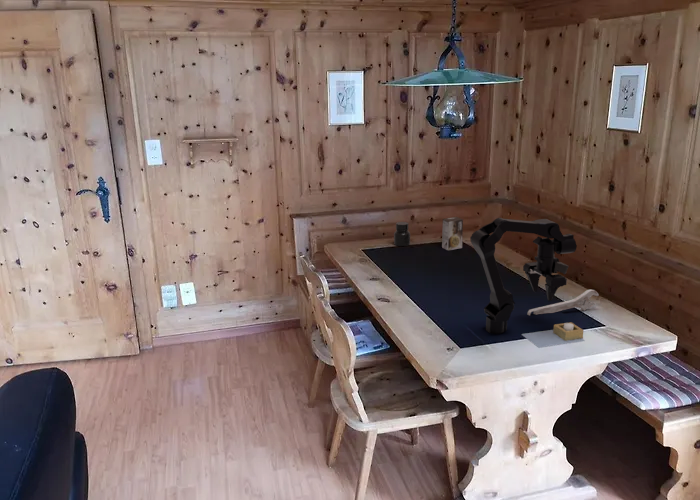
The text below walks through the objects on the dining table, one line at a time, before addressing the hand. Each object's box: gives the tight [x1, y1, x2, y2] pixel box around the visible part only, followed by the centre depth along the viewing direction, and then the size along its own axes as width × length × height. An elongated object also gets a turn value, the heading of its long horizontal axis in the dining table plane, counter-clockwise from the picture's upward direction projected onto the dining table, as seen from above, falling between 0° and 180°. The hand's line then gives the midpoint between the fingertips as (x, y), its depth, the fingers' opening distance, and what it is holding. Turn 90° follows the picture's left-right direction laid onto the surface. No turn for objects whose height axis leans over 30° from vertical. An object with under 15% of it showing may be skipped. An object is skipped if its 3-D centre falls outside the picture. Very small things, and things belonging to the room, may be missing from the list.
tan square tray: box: [552, 321, 584, 341], centre depth 199 cm, size 7×7×3 cm
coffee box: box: [441, 216, 464, 251], centre depth 304 cm, size 9×6×16 cm
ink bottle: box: [393, 221, 411, 247], centre depth 313 cm, size 10×9×12 cm
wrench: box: [527, 289, 599, 316], centre depth 220 cm, size 8×2×30 cm
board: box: [521, 322, 586, 349], centre depth 198 cm, size 18×11×5 cm, turn 105°
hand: (542, 296), depth 206 cm, fingers open, 9 cm apart
